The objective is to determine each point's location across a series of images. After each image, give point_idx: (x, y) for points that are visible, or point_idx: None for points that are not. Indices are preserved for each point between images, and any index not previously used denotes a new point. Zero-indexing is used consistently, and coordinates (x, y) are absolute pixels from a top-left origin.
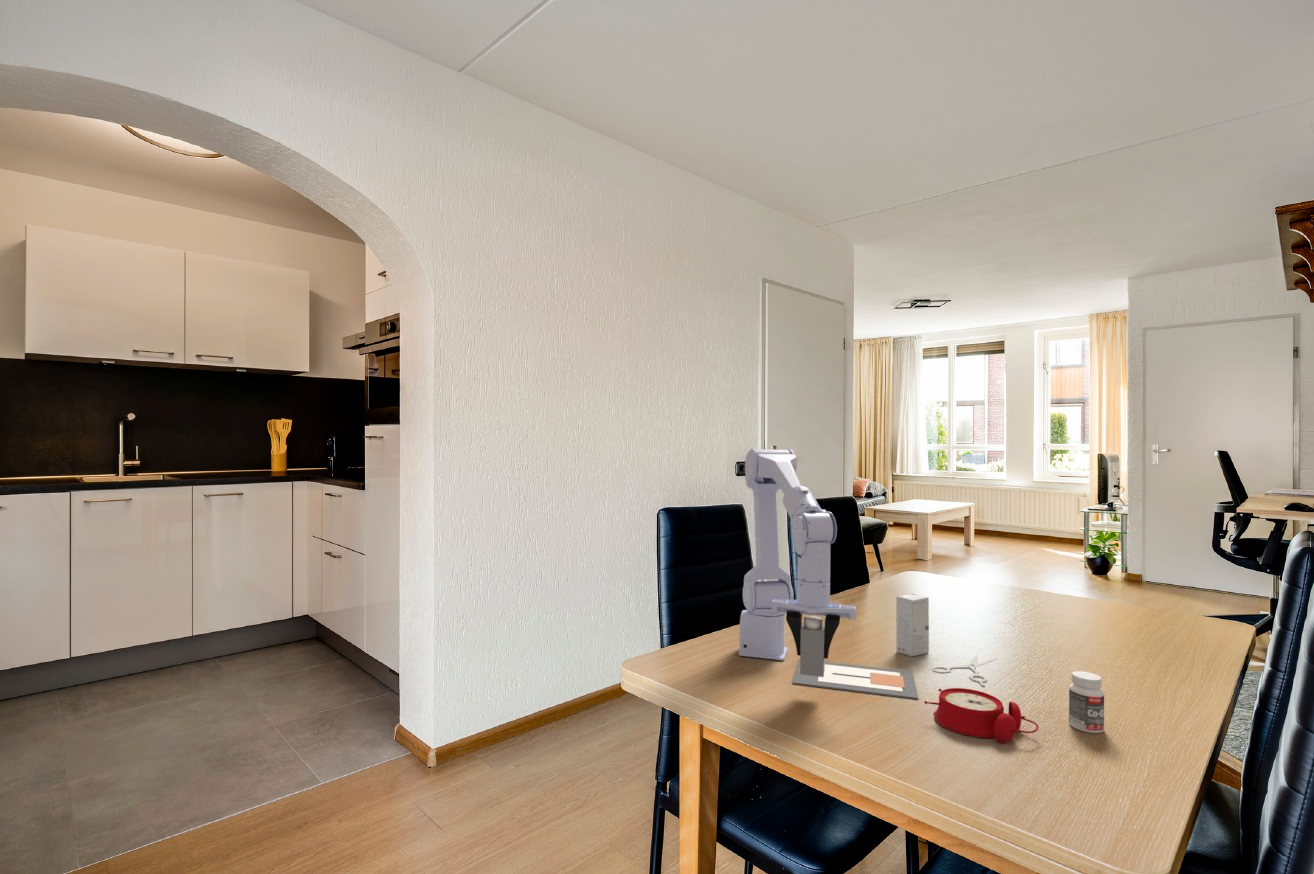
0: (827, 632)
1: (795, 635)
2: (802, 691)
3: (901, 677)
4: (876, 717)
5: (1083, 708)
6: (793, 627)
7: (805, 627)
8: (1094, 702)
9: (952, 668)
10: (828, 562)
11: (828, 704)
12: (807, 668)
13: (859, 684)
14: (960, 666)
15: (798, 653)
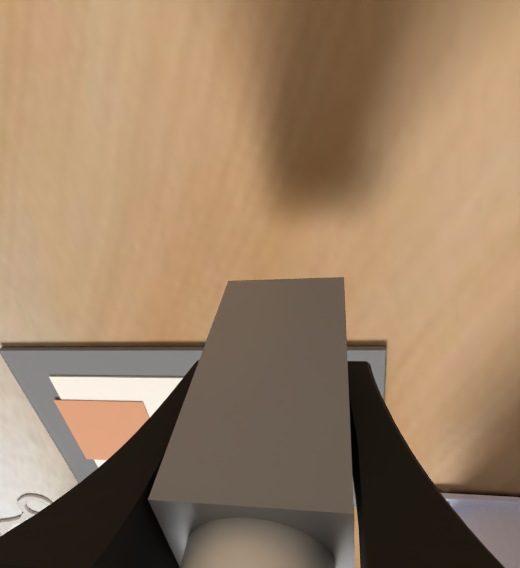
0: (123, 490)
1: (397, 459)
2: None
3: (86, 451)
4: (40, 165)
5: None
6: (428, 525)
7: (315, 542)
8: None
9: (22, 515)
10: None
11: (226, 214)
12: (305, 298)
13: (169, 388)
14: (11, 524)
15: (362, 366)
